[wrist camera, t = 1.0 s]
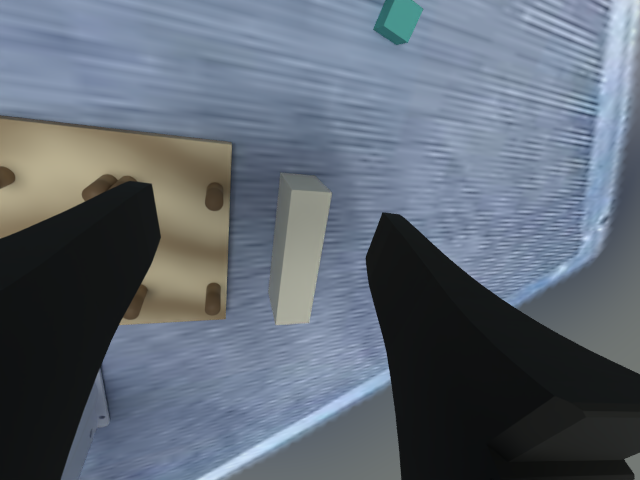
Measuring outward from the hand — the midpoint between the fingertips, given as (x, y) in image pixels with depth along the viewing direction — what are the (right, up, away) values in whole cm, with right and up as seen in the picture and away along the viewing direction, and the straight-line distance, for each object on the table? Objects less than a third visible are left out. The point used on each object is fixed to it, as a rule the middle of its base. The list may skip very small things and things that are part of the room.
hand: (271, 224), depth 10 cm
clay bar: (-1, 0, +19) cm, 19 cm away
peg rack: (-13, 0, +14) cm, 20 cm away
